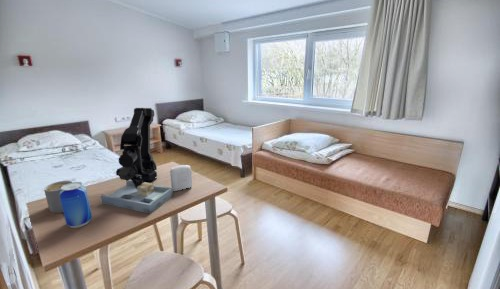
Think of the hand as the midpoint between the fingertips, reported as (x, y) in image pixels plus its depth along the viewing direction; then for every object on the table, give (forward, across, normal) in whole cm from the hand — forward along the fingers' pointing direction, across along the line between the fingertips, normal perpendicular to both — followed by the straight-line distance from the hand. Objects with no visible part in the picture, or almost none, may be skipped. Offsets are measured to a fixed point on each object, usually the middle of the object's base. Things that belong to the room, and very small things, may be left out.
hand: (138, 189), depth 119 cm
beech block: (+1, +4, 0) cm, 4 cm away
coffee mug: (+3, -22, -20) cm, 30 cm away
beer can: (+3, -6, -26) cm, 26 cm away
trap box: (+3, +3, -3) cm, 5 cm away
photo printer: (+3, +15, +13) cm, 20 cm away
